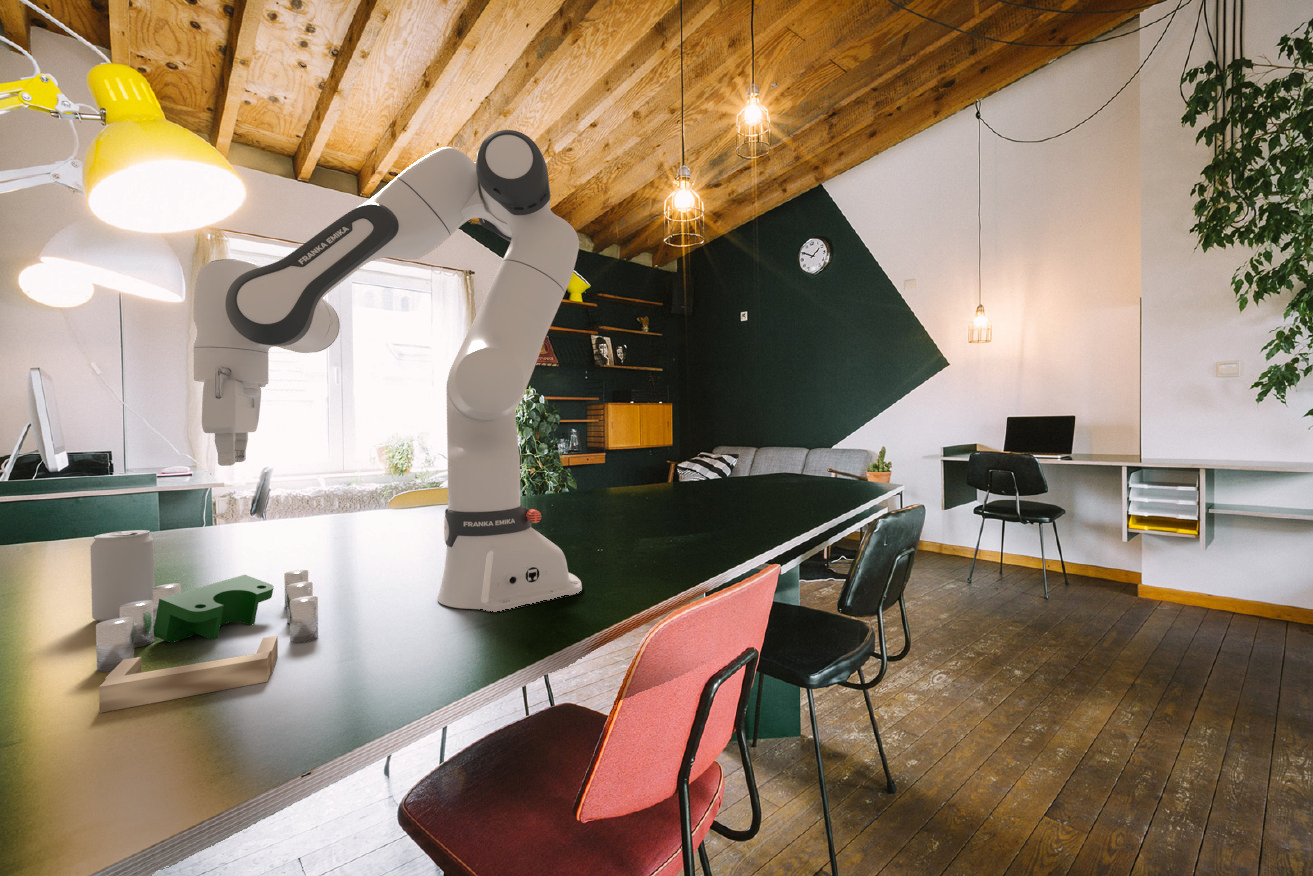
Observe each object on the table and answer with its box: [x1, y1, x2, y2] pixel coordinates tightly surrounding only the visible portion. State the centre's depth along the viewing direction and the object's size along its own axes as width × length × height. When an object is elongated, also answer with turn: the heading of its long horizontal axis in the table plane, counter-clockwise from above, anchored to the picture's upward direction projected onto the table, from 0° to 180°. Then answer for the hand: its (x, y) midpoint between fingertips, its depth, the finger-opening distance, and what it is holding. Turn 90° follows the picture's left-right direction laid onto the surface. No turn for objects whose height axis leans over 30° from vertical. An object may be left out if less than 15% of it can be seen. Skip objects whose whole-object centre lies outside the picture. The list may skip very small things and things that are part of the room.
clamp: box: [154, 574, 275, 644], centre depth 72 cm, size 12×6×9 cm, turn 162°
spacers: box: [95, 569, 319, 673], centre depth 72 cm, size 21×19×5 cm
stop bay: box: [98, 635, 279, 714], centre depth 58 cm, size 13×7×2 cm, turn 119°
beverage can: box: [90, 529, 155, 623], centre depth 77 cm, size 6×6×12 cm
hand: (232, 463), depth 81 cm, fingers open, 7 cm apart
